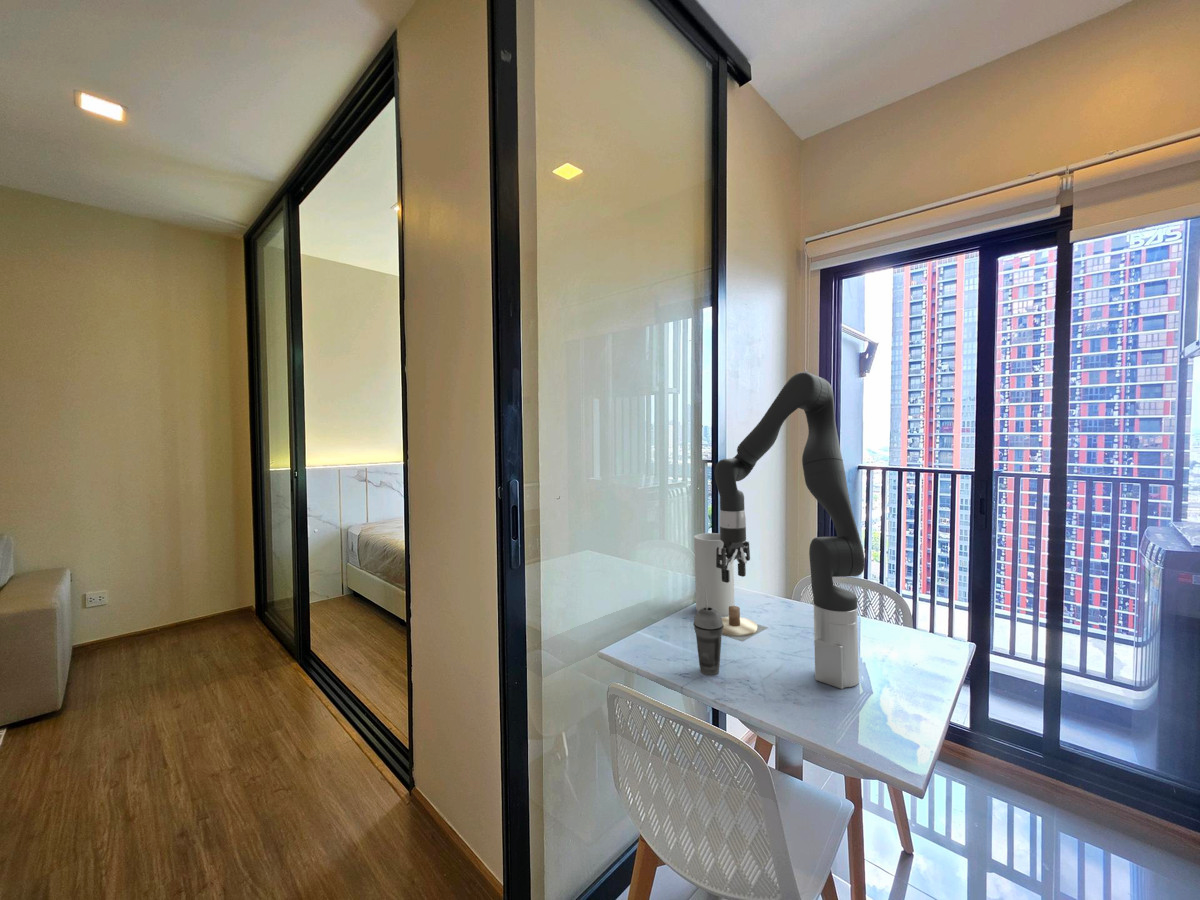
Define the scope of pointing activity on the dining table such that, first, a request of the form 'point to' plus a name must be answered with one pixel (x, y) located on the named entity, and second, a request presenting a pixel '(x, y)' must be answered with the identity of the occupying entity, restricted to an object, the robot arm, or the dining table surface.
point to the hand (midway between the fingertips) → (734, 578)
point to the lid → (737, 624)
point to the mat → (743, 638)
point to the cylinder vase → (712, 575)
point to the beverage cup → (708, 639)
